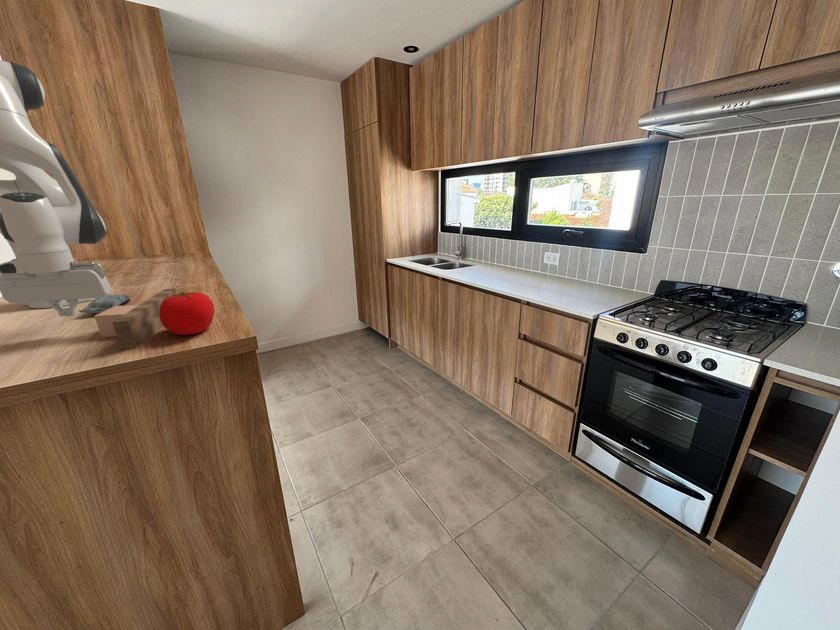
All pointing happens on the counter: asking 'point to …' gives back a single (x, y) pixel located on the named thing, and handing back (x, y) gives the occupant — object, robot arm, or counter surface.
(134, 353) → the counter surface
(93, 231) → the robot arm
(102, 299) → the packaged food
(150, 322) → the walnut board
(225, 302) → the counter surface
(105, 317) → the terracotta block
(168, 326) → the tomato
